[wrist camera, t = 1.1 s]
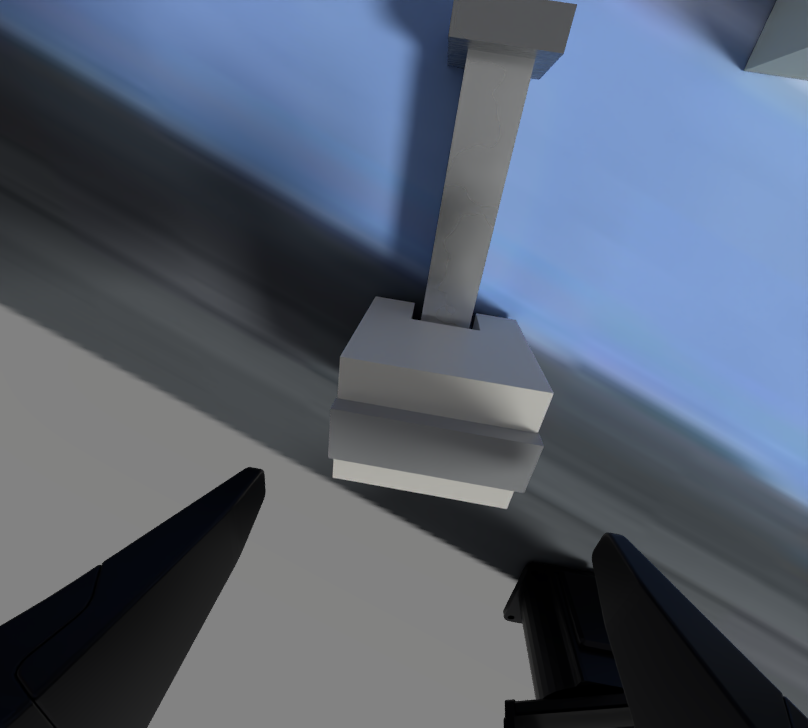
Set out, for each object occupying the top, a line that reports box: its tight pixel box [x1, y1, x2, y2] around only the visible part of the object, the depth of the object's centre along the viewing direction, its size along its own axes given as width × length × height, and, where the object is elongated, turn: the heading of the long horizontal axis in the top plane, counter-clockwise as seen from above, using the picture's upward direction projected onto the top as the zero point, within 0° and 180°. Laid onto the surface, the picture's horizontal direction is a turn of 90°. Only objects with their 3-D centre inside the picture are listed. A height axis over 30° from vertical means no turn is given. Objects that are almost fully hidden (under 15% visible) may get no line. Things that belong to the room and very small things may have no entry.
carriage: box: [328, 296, 554, 509], centre depth 14 cm, size 5×6×7 cm
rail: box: [421, 0, 577, 329], centre depth 14 cm, size 17×3×3 cm, turn 172°
